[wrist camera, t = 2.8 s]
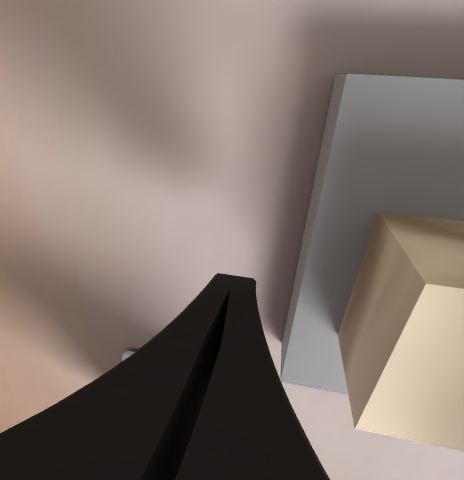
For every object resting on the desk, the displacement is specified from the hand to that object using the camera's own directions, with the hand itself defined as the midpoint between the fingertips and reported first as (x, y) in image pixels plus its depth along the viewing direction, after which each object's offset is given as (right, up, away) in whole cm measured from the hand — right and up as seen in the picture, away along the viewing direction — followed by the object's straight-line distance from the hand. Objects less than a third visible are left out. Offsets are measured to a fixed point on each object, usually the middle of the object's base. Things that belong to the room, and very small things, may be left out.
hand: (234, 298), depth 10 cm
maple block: (+8, 0, +1) cm, 8 cm away
